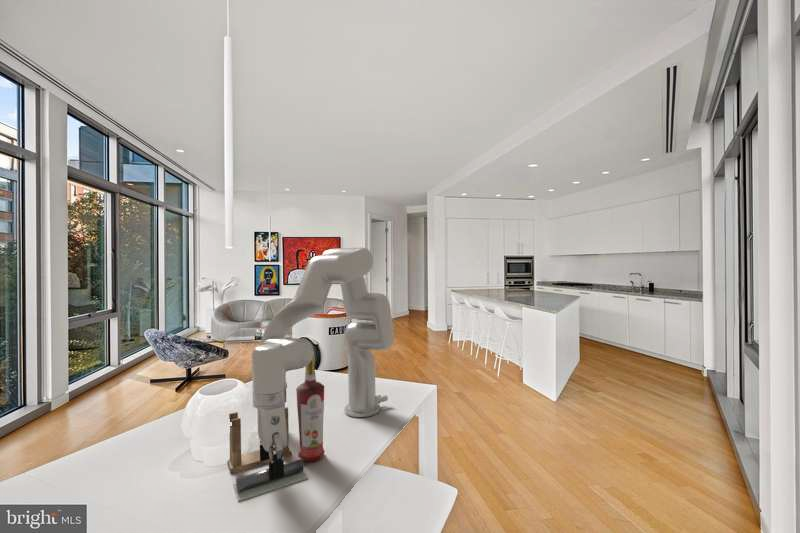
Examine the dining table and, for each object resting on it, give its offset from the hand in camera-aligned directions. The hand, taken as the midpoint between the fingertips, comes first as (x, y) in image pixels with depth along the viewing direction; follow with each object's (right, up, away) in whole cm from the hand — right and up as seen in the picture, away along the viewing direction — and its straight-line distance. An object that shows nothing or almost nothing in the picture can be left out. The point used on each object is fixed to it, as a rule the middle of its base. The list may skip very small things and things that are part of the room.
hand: (271, 468), depth 87 cm
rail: (0, -1, 0) cm, 1 cm away
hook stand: (-7, -3, +10) cm, 13 cm away
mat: (0, -3, 0) cm, 3 cm away
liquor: (+7, -3, +10) cm, 13 cm away
